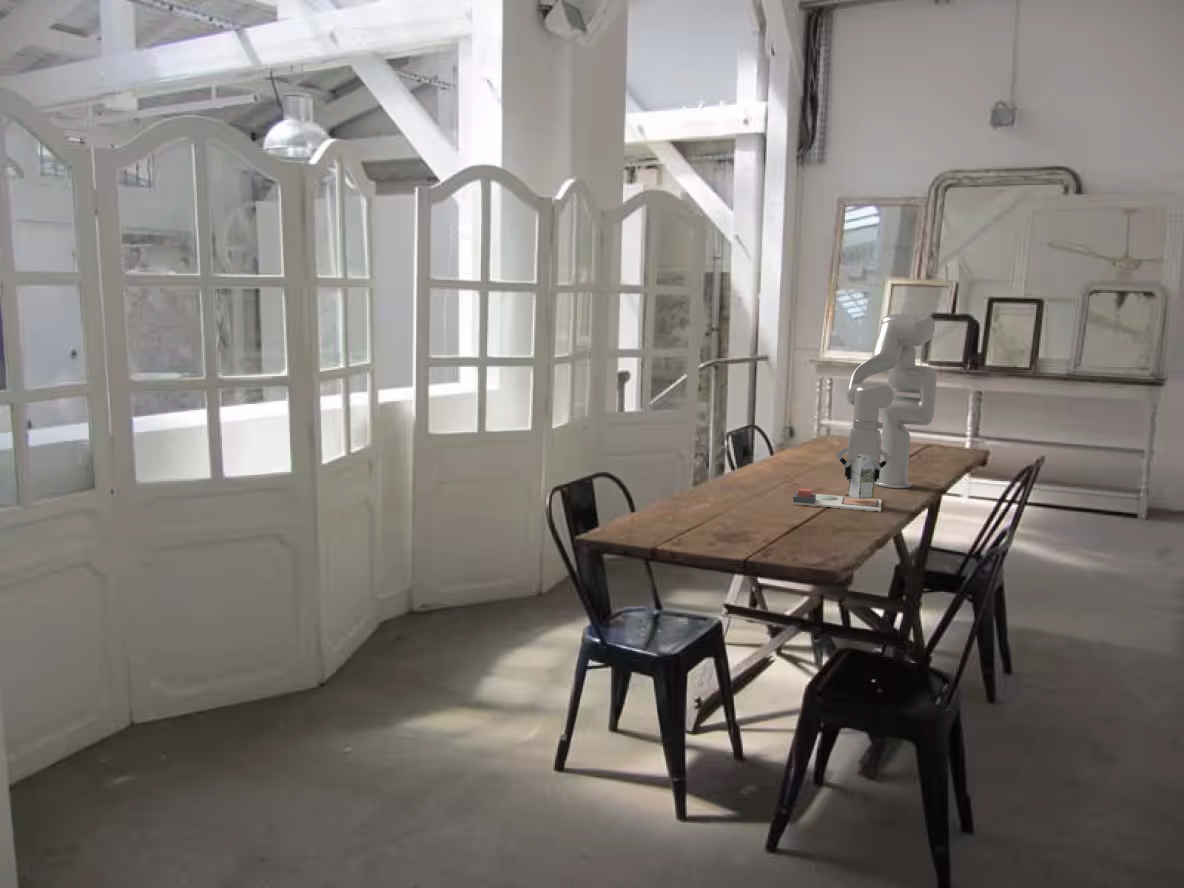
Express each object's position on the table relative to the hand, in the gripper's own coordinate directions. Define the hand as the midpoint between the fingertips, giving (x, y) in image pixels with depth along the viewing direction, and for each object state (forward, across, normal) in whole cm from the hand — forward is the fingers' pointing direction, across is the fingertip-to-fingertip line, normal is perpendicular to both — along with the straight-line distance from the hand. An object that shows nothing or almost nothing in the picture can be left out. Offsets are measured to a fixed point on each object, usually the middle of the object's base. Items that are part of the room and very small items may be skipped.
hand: (861, 479), depth 312 cm
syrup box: (+6, 0, 0) cm, 6 cm away
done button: (+6, +17, +6) cm, 19 cm away
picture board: (+8, +7, +1) cm, 11 cm away
